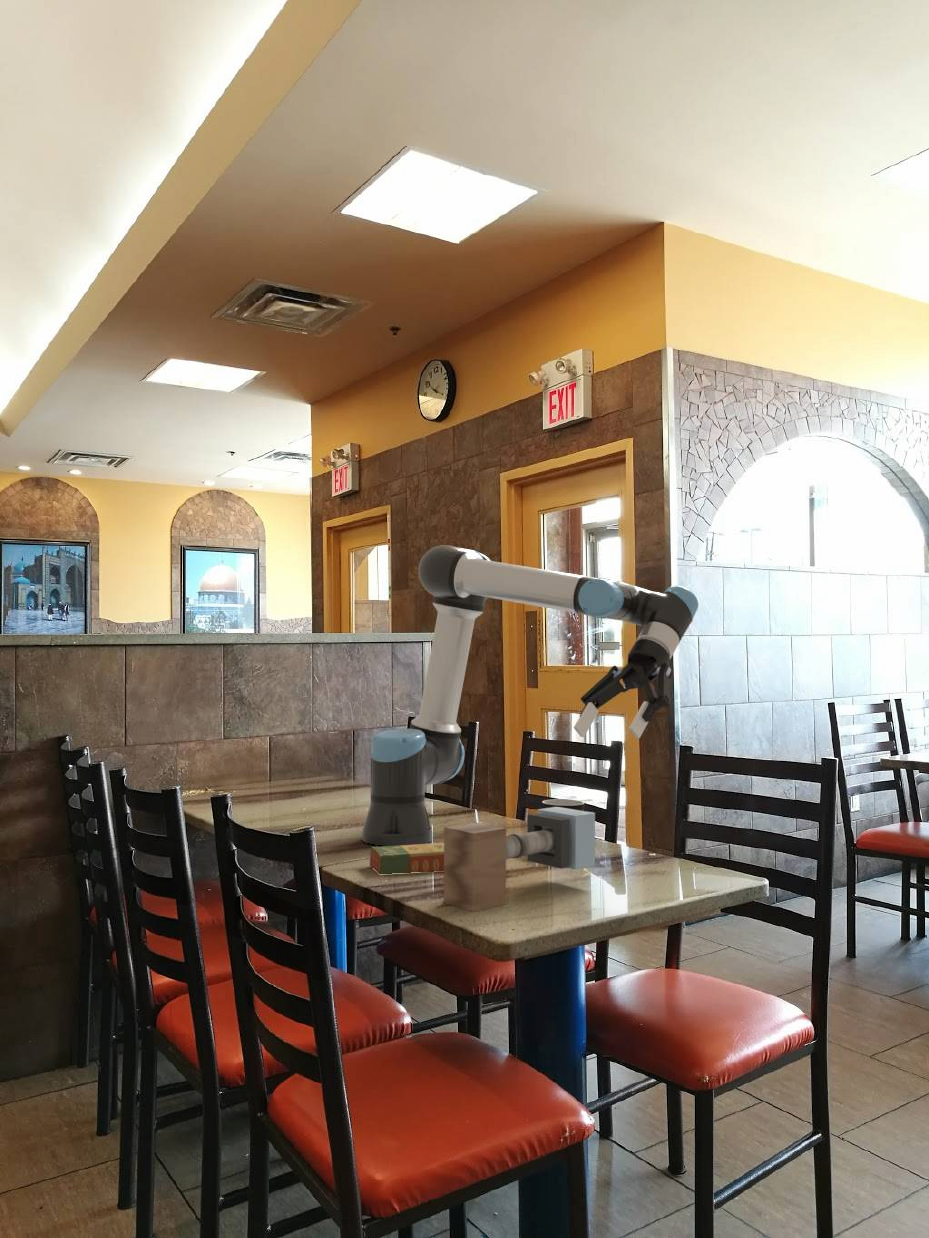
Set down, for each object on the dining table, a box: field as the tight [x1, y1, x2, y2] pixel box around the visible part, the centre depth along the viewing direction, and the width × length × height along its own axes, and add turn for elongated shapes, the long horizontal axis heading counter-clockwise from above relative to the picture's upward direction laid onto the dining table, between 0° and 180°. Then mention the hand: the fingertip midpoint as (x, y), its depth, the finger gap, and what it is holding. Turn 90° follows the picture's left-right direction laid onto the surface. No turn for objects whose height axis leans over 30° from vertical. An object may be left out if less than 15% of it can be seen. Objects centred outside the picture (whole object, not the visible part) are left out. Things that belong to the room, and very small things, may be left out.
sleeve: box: [537, 807, 596, 870], centre depth 166 cm, size 9×5×9 cm, turn 42°
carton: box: [369, 842, 444, 874], centre depth 177 cm, size 8×16×4 cm, turn 107°
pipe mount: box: [443, 822, 554, 913], centre depth 159 cm, size 7×30×12 cm, turn 132°
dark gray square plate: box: [526, 812, 570, 869], centre depth 163 cm, size 8×2×8 cm, turn 42°
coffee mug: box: [541, 798, 585, 811], centre depth 195 cm, size 12×9×10 cm
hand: (605, 733), depth 175 cm, fingers open, 13 cm apart
